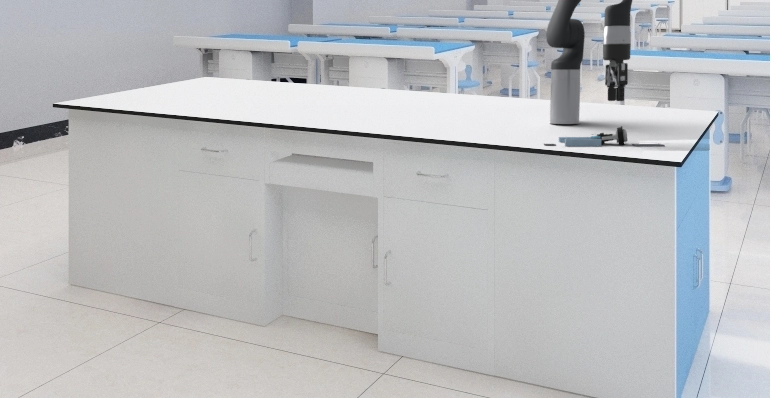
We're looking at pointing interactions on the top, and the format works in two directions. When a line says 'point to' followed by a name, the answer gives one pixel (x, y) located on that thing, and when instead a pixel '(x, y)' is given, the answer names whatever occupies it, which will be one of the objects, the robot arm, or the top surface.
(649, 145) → the mat
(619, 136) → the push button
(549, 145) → the trap plate
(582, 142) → the channel
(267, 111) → the top surface
